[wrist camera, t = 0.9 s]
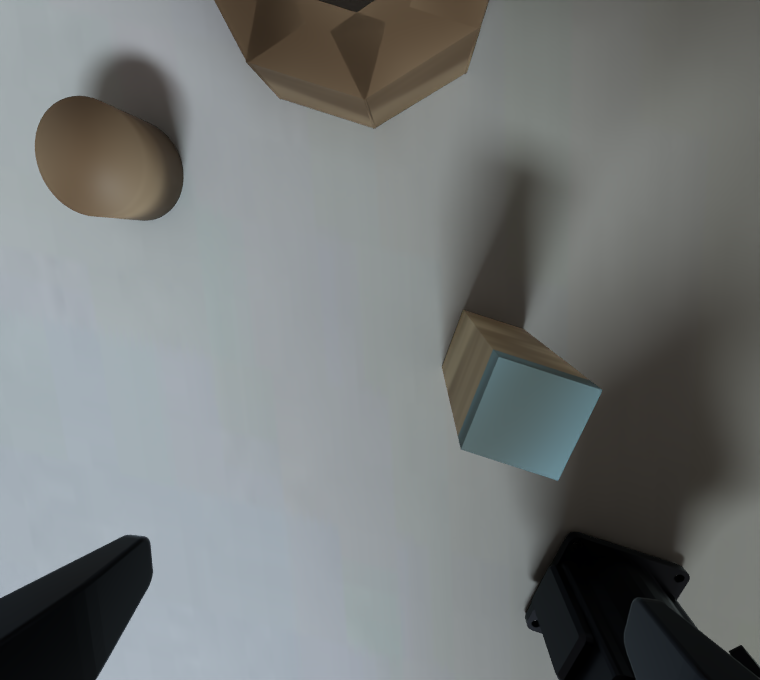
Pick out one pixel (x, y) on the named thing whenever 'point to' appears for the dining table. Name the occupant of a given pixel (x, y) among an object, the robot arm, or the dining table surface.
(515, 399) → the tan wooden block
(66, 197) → the loose bead
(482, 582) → the dining table surface
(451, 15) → the wooden octagonal ring
